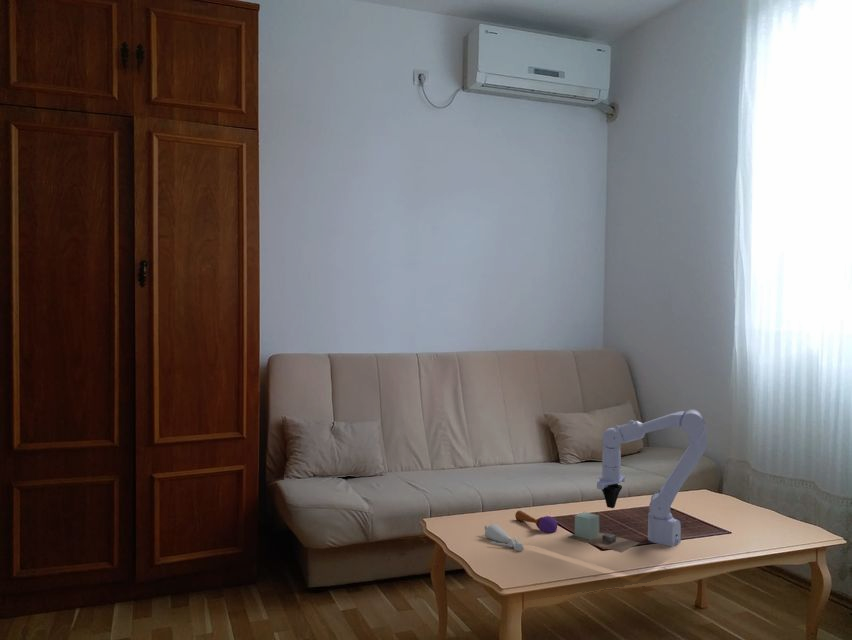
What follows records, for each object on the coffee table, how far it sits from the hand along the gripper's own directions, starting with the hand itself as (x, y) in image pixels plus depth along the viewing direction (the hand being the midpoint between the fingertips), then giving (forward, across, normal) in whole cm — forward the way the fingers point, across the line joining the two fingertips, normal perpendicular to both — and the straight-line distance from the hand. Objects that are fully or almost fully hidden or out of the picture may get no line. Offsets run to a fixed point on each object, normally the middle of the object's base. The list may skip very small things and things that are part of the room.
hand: (610, 507), depth 228 cm
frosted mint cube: (+9, +7, -4) cm, 12 cm away
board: (+10, +7, +2) cm, 12 cm away
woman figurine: (+10, +29, -21) cm, 37 cm away
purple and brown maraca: (+10, +9, -23) cm, 27 cm away
